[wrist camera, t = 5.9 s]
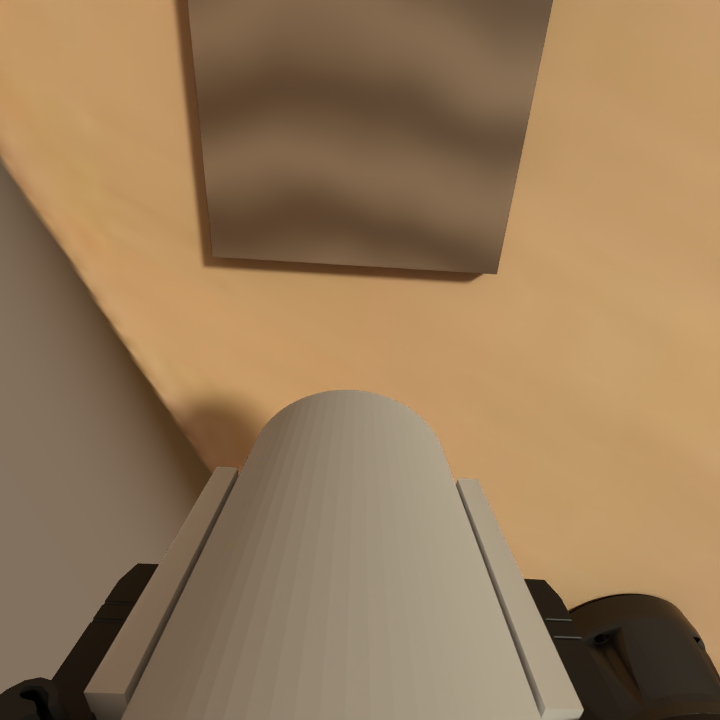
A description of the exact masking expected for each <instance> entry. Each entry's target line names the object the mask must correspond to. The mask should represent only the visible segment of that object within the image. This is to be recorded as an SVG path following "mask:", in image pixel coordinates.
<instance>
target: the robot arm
mask: <svg viewBox="0 0 720 720" xmlns="http://www.w3.org/2000/svg"><path fill="white" fill-rule="evenodd" d="M237 478H238V467H218V466H217V467H216V469H215V471H214V472H213V474H212V476H211V477H210V479H209V481H208V483H207V484H206V486H205V488H204V489H203V491H202V493H201V495H200V496H199V498H198V499H197V501H196V503H195V505H194V506H193V508H192V510H191V511H190V513H189V515H188V516H187V518H186V520H185V521H184V523H183V525H182V527H181V529H180V530H179V532H178V533H177V535H176V537H175V538H174V540H173V542H172V543H171V545H170V547H169V549H168V550H167V552H166V554H165V555H164V557H163V559H162V560H161V562H160V564H137V565H136V566H134V567H133V568H132V569H131V570H130V571H129V572H128V573H127V574H126V575H124V576H123V577H122V578H121V579H120V580H119V581H118V583H117V584H116V586H115V587H114V589H113V590H112V591H111V593H110V595H109V596H108V598H107V599H106V600H105V604H104V605H102V606H101V608H100V609H99V611H98V612H97V614H96V615H95V617H94V619H93V622H92V623H90V624H89V625H88V627H87V628H86V630H85V631H84V633H83V634H82V636H81V637H80V639H79V640H78V642H77V643H76V645H75V646H74V648H73V649H72V651H71V652H70V654H69V655H68V656H67V658H66V660H65V661H64V662H63V664H62V665H61V667H60V668H59V670H58V671H57V673H56V674H55V676H54V677H53V679H52V680H48V679H44V678H41V677H40V678H35V679H30V680H25V681H23V682H21V683H19V684H17V685H15V686H13V687H11V688H9V689H7V690H6V691H4V692H3V693H2V694H0V720H121V718H122V716H123V714H124V712H125V710H126V708H127V706H128V704H129V702H130V700H131V698H132V696H133V694H134V692H135V689H136V687H137V685H138V683H139V681H140V679H141V677H142V675H143V673H144V671H145V669H146V667H147V665H148V663H149V661H150V658H151V656H152V654H153V652H154V650H155V648H156V646H157V644H158V642H159V640H160V638H161V636H162V634H163V632H164V629H165V627H166V625H167V623H168V621H169V619H170V617H171V615H172V613H173V611H174V609H175V607H176V605H177V603H178V600H179V598H180V596H181V594H182V592H183V590H184V588H185V586H186V584H187V582H188V580H189V578H190V576H191V574H192V572H193V569H194V567H195V565H196V563H197V561H198V559H199V557H200V555H201V553H202V551H203V549H204V547H205V545H206V543H207V540H208V538H209V536H210V534H211V532H212V530H213V528H214V526H215V524H216V522H217V520H218V518H219V516H220V514H221V512H222V509H223V507H224V505H225V503H226V501H227V499H228V497H229V495H230V493H231V491H232V489H233V487H234V485H235V483H236V480H237ZM456 487H457V490H458V493H459V495H460V498H461V501H462V504H463V506H464V509H465V512H466V514H467V517H468V520H469V523H470V525H471V528H472V531H473V534H474V536H475V539H476V542H477V544H478V547H479V550H480V553H481V555H482V558H483V561H484V564H485V566H486V569H487V572H488V575H489V577H490V580H491V583H492V585H493V588H494V591H495V594H496V596H497V599H498V602H499V605H500V607H501V610H502V613H503V615H504V618H505V621H506V624H507V626H508V629H509V632H510V635H511V637H512V640H513V643H514V646H515V648H516V651H517V654H518V656H519V659H520V662H521V665H522V667H523V670H524V673H525V676H526V678H527V681H528V684H529V686H530V689H531V692H532V695H533V697H534V700H535V703H536V706H537V708H538V711H539V714H540V717H541V719H542V720H720V676H719V674H718V672H717V670H716V668H715V666H714V665H713V663H712V661H711V659H710V657H709V655H708V654H707V652H706V650H705V646H704V643H703V641H702V639H701V637H700V635H699V634H698V632H697V631H696V629H695V628H694V627H693V626H692V625H691V623H690V622H689V621H688V620H687V618H686V617H685V616H684V615H683V614H682V612H681V611H680V610H679V609H678V608H677V607H676V606H675V605H673V604H672V603H670V602H668V601H666V600H663V599H660V598H657V597H652V596H646V595H623V596H616V597H610V598H606V599H602V600H599V601H596V602H593V603H590V604H588V605H585V606H583V607H581V608H579V609H577V610H575V611H574V612H572V613H570V614H569V612H568V611H567V609H566V607H565V605H564V603H563V601H562V599H561V598H560V597H559V595H558V594H557V593H556V592H555V591H554V590H553V589H552V588H551V587H550V586H549V584H548V583H547V582H546V581H545V580H535V579H523V576H522V574H521V572H520V570H519V568H518V566H517V563H516V561H515V559H514V557H513V555H512V553H511V550H510V548H509V546H508V544H507V542H506V540H505V537H504V535H503V533H502V531H501V529H500V526H499V524H498V522H497V520H496V518H495V516H494V513H493V511H492V509H491V507H490V505H489V503H488V500H487V498H486V496H485V494H484V492H483V490H482V487H481V485H480V483H479V481H478V479H462V478H458V479H457V484H456Z"/></svg>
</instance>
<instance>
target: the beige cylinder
mask: <svg viewBox="0 0 720 720" xmlns="http://www.w3.org/2000/svg"><path fill="white" fill-rule="evenodd" d="M121 720H542V719H541V717H540V714H539V711H538V708H537V706H536V703H535V700H534V697H533V695H532V692H531V689H530V686H529V684H528V681H527V678H526V676H525V673H524V670H523V667H522V665H521V662H520V659H519V656H518V654H517V651H516V648H515V646H514V643H513V640H512V637H511V635H510V632H509V629H508V626H507V624H506V621H505V618H504V615H503V613H502V610H501V607H500V605H499V602H498V599H497V596H496V594H495V591H494V588H493V585H492V583H491V580H490V577H489V575H488V572H487V569H486V566H485V564H484V561H483V558H482V555H481V553H480V550H479V547H478V544H477V542H476V539H475V536H474V534H473V531H472V528H471V525H470V523H469V520H468V517H467V514H466V512H465V509H464V506H463V504H462V501H461V498H460V495H459V493H458V490H457V487H456V484H455V482H454V479H453V476H452V473H451V471H450V468H449V465H448V463H447V460H446V457H445V454H444V452H443V449H442V446H441V444H440V442H439V440H438V438H437V436H436V434H435V433H434V431H433V430H432V429H431V427H430V426H429V425H428V424H427V423H426V422H425V421H424V420H423V419H422V418H421V417H420V416H419V415H418V414H417V413H416V412H414V411H413V410H411V409H410V408H408V407H407V406H405V405H404V404H402V403H400V402H398V401H396V400H393V399H391V398H389V397H386V396H383V395H380V394H376V393H372V392H366V391H358V390H335V391H327V392H322V393H318V394H314V395H311V396H308V397H305V398H302V399H300V400H298V401H296V402H294V403H292V404H290V405H288V406H287V407H285V408H284V409H282V410H281V411H280V412H278V413H277V414H276V415H275V416H274V417H273V418H272V419H271V420H270V421H269V422H268V423H267V424H266V425H265V427H264V428H263V429H262V431H261V432H260V434H259V435H258V437H257V439H256V441H255V443H254V445H253V447H252V449H251V452H250V454H249V456H248V458H247V460H246V462H245V464H244V466H243V468H242V470H241V472H240V474H239V476H238V478H237V480H236V483H235V485H234V487H233V489H232V491H231V493H230V495H229V497H228V499H227V501H226V503H225V505H224V507H223V509H222V512H221V514H220V516H219V518H218V520H217V522H216V524H215V526H214V528H213V530H212V532H211V534H210V536H209V538H208V540H207V543H206V545H205V547H204V549H203V551H202V553H201V555H200V557H199V559H198V561H197V563H196V565H195V567H194V569H193V572H192V574H191V576H190V578H189V580H188V582H187V584H186V586H185V588H184V590H183V592H182V594H181V596H180V598H179V600H178V603H177V605H176V607H175V609H174V611H173V613H172V615H171V617H170V619H169V621H168V623H167V625H166V627H165V629H164V632H163V634H162V636H161V638H160V640H159V642H158V644H157V646H156V648H155V650H154V652H153V654H152V656H151V658H150V661H149V663H148V665H147V667H146V669H145V671H144V673H143V675H142V677H141V679H140V681H139V683H138V685H137V687H136V689H135V692H134V694H133V696H132V698H131V700H130V702H129V704H128V706H127V708H126V710H125V712H124V714H123V716H122V718H121Z"/></svg>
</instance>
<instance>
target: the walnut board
mask: <svg viewBox="0 0 720 720" xmlns="http://www.w3.org/2000/svg"><path fill="white" fill-rule="evenodd" d="M552 3H553V0H188V10H189V20H190V31H191V41H192V51H193V61H194V72H195V82H196V92H197V103H198V113H199V123H200V133H201V144H202V154H203V164H204V175H205V185H206V195H207V205H208V216H209V226H210V236H211V246H212V257H224V258H240V259H256V260H273V261H289V262H305V263H322V264H338V265H354V266H371V267H387V268H403V269H420V270H436V271H452V272H468V273H485V274H497V270H498V266H499V261H500V256H501V251H502V246H503V241H504V236H505V231H506V227H507V222H508V217H509V212H510V207H511V202H512V197H513V193H514V188H515V183H516V178H517V173H518V168H519V163H520V158H521V154H522V149H523V144H524V139H525V134H526V129H527V124H528V119H529V115H530V110H531V105H532V100H533V95H534V90H535V85H536V80H537V76H538V71H539V66H540V61H541V56H542V51H543V46H544V42H545V37H546V32H547V27H548V22H549V17H550V12H551V7H552Z"/></svg>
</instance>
